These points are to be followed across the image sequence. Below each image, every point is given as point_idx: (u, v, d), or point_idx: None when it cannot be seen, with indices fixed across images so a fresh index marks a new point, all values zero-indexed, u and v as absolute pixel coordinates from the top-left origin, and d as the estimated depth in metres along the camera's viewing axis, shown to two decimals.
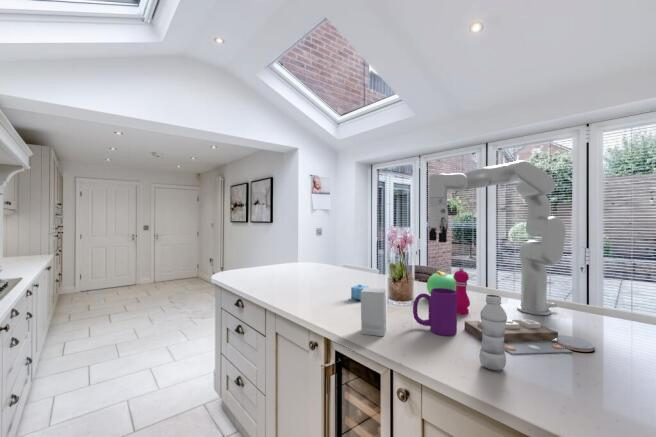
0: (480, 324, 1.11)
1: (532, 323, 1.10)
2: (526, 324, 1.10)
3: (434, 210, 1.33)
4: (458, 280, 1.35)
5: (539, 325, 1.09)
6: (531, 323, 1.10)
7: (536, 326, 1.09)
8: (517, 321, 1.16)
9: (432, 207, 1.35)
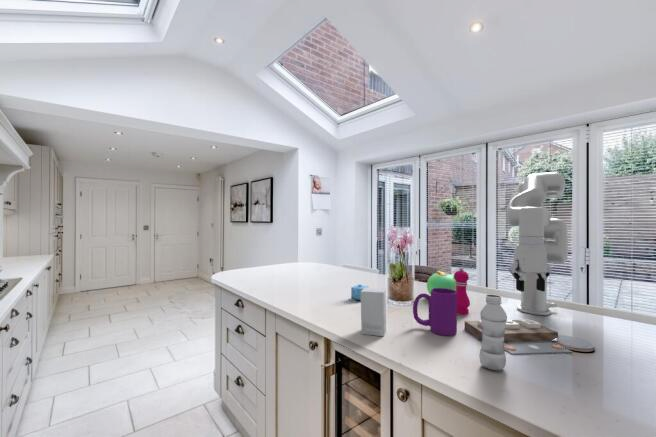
0: (480, 324, 1.11)
1: (532, 323, 1.10)
2: (526, 324, 1.10)
3: (541, 252, 1.09)
4: (458, 280, 1.35)
5: (539, 325, 1.09)
6: (531, 323, 1.10)
7: (536, 326, 1.09)
8: (517, 321, 1.16)
9: (536, 248, 1.09)
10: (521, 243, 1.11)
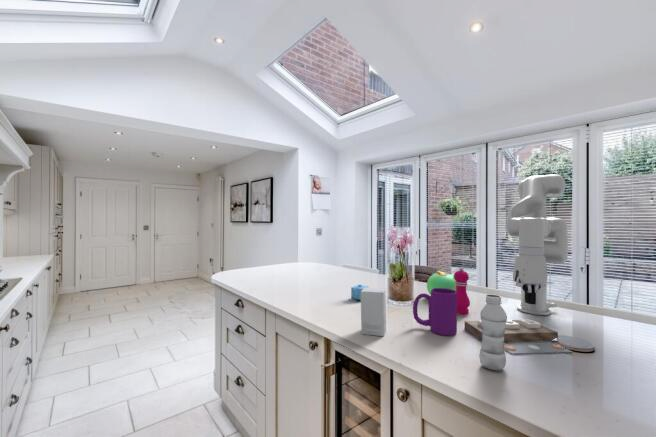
0: (480, 324, 1.11)
1: (532, 323, 1.10)
2: (526, 324, 1.10)
3: (541, 263, 1.09)
4: (458, 280, 1.35)
5: (539, 325, 1.09)
6: (531, 323, 1.10)
7: (536, 326, 1.09)
8: (517, 321, 1.16)
9: (536, 259, 1.09)
10: (521, 254, 1.11)
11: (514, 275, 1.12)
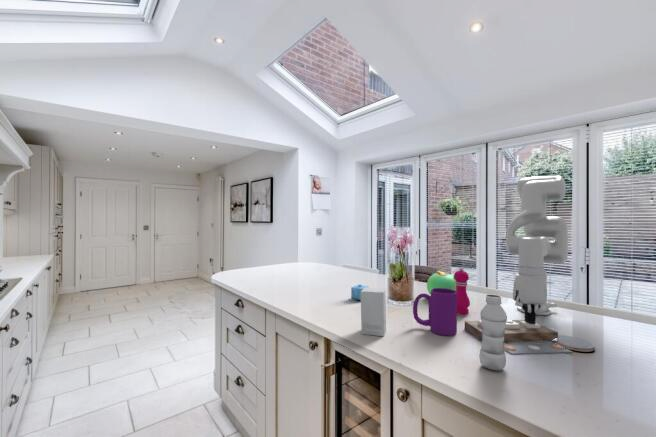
0: (480, 324, 1.11)
1: (532, 324, 1.10)
2: (526, 325, 1.10)
3: (541, 283, 1.09)
4: (458, 280, 1.35)
5: (538, 327, 1.09)
6: (531, 324, 1.10)
7: (536, 327, 1.09)
8: (517, 321, 1.16)
9: (536, 279, 1.09)
10: (521, 273, 1.11)
11: (514, 294, 1.12)
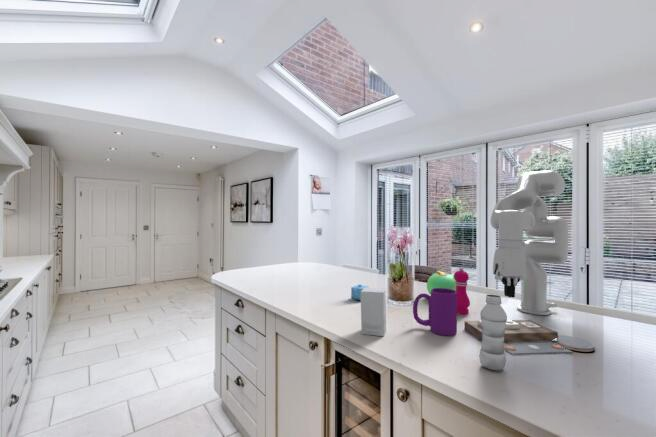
0: (480, 324, 1.11)
1: (532, 326, 1.10)
2: (526, 327, 1.10)
3: (520, 255, 1.08)
4: (458, 280, 1.35)
5: None
6: (531, 326, 1.10)
7: None
8: (517, 321, 1.16)
9: (515, 252, 1.08)
10: (500, 247, 1.10)
11: (494, 268, 1.11)
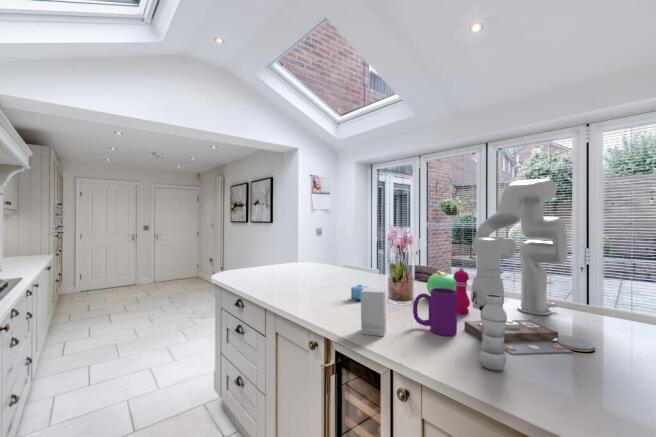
0: None
1: (532, 326, 1.10)
2: (526, 327, 1.10)
3: (497, 284, 1.08)
4: (458, 280, 1.35)
5: None
6: (531, 326, 1.10)
7: None
8: (517, 321, 1.16)
9: (492, 281, 1.08)
10: (478, 275, 1.10)
11: (471, 296, 1.11)
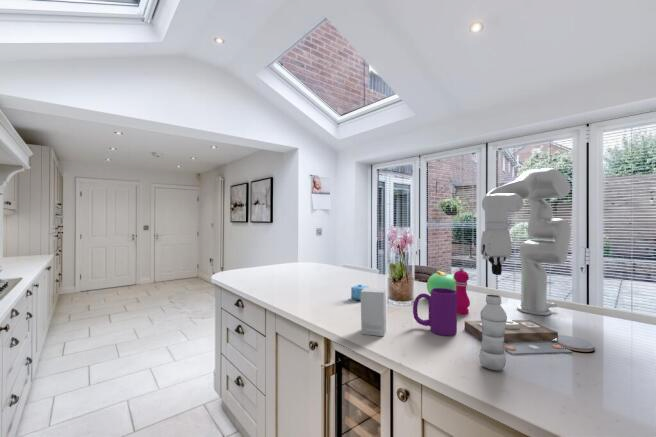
0: None
1: (532, 326, 1.10)
2: (526, 327, 1.10)
3: (505, 236, 1.16)
4: (458, 280, 1.35)
5: None
6: (531, 326, 1.10)
7: None
8: (517, 321, 1.16)
9: (500, 233, 1.16)
10: (487, 229, 1.18)
11: (481, 249, 1.20)
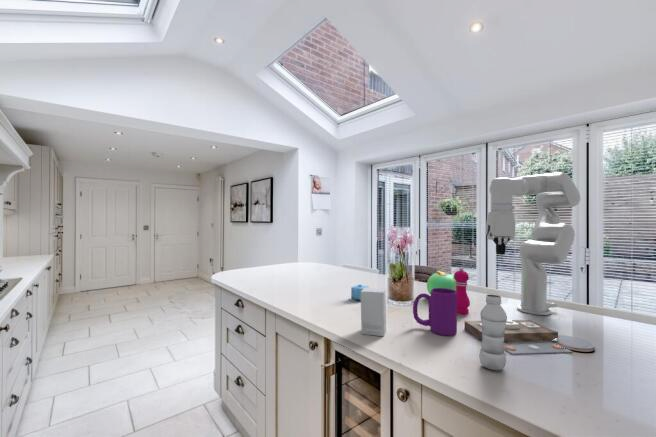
0: None
1: (532, 326, 1.10)
2: (526, 327, 1.10)
3: (509, 217, 1.23)
4: (458, 280, 1.35)
5: None
6: (531, 326, 1.10)
7: None
8: (517, 321, 1.16)
9: (505, 214, 1.23)
10: (492, 210, 1.25)
11: (486, 230, 1.26)
